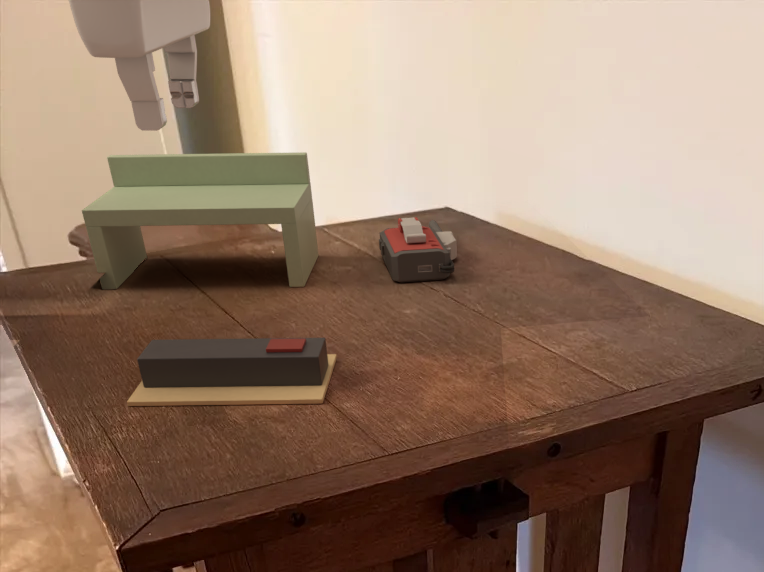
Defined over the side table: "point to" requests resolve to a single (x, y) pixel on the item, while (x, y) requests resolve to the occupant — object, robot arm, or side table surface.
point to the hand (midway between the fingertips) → (170, 117)
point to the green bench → (201, 204)
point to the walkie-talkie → (418, 251)
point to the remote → (234, 362)
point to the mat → (233, 394)
